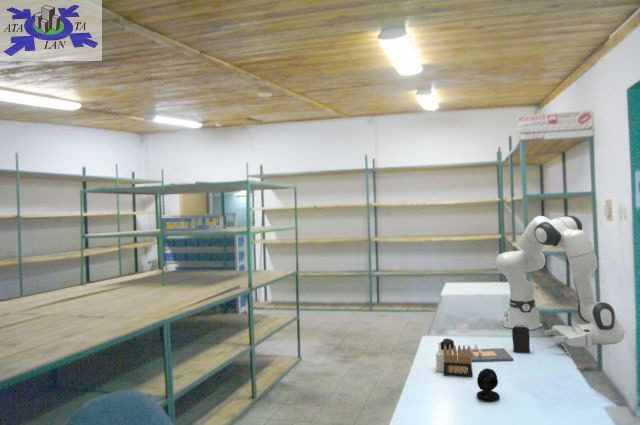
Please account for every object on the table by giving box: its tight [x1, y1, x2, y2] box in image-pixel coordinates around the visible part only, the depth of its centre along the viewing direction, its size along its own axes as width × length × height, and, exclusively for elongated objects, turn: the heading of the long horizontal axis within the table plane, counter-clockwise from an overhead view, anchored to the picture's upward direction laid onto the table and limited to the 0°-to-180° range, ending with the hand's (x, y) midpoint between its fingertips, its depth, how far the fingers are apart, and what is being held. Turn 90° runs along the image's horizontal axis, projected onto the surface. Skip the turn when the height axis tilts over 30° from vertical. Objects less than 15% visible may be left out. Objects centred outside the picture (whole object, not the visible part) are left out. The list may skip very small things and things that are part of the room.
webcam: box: [476, 368, 500, 403], centre depth 172 cm, size 8×8×10 cm
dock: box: [456, 343, 514, 363], centre depth 215 cm, size 14×20×4 cm
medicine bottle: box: [435, 338, 458, 373], centre depth 202 cm, size 7×7×12 cm
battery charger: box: [511, 325, 531, 354], centre depth 219 cm, size 7×4×11 cm, turn 67°
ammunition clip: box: [443, 344, 474, 378], centre depth 195 cm, size 11×2×12 cm, turn 70°
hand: (549, 335), depth 218 cm, fingers open, 8 cm apart
